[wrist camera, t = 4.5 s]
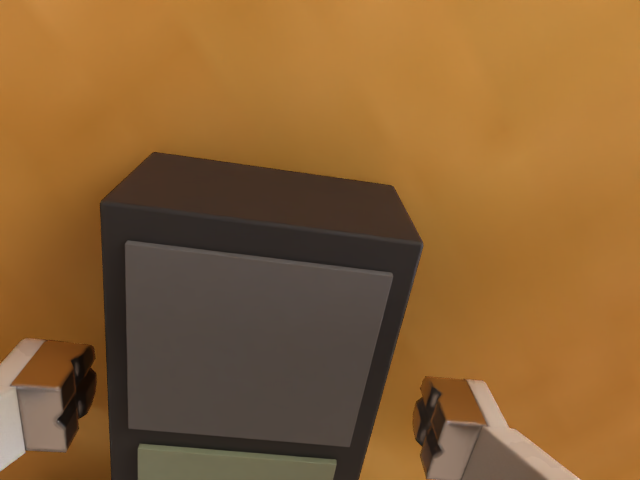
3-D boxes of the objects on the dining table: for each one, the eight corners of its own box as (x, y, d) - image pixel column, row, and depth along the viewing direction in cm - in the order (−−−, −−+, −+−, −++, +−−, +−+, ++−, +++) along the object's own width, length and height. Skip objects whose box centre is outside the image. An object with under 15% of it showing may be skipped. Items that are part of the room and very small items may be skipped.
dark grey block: (152, 150, 11) (93, 204, 8) (394, 184, 12) (428, 247, 9) (149, 423, 15) (109, 533, 12) (334, 439, 16) (342, 548, 13)
